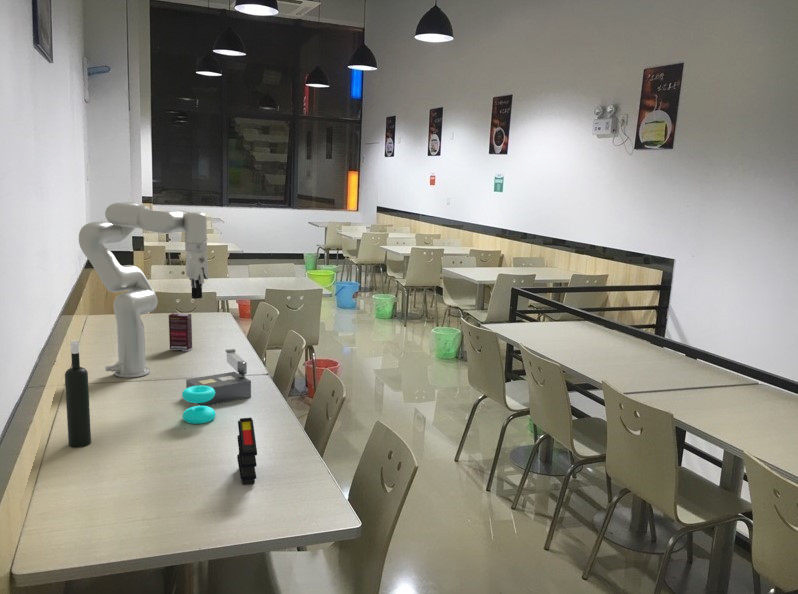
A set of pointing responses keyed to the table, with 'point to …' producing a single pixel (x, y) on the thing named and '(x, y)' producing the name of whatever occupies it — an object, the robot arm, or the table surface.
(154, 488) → the table surface
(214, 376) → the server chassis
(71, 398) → the wine bottle
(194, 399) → the donuts
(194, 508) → the table surface
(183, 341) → the supplement box
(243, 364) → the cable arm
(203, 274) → the robot arm
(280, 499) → the table surface
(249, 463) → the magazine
